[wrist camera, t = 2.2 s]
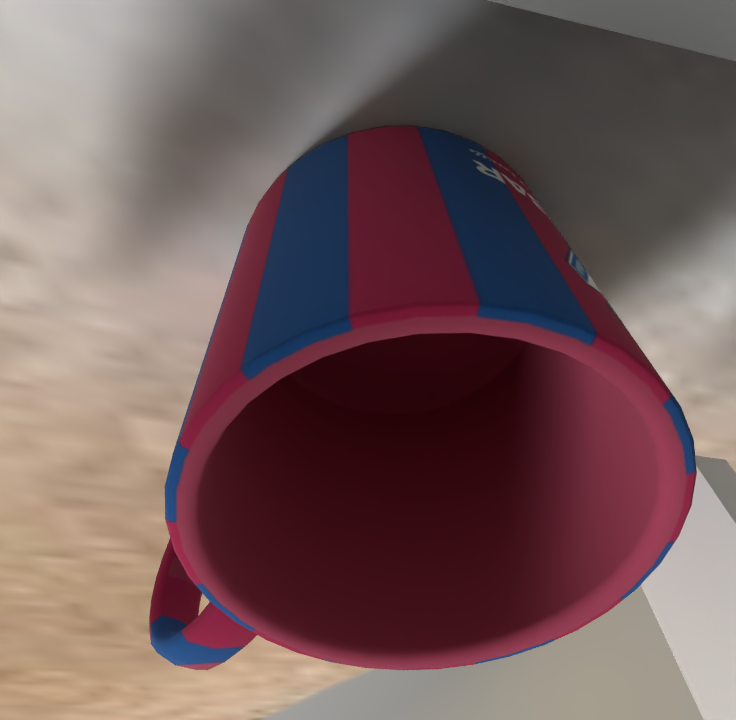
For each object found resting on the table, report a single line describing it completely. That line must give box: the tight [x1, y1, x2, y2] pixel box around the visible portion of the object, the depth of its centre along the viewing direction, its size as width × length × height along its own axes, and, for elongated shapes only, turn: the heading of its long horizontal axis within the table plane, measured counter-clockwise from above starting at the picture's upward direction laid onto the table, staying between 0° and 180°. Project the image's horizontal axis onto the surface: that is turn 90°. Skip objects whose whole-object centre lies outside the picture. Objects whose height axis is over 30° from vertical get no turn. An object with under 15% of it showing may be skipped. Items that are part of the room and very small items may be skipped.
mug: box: [149, 126, 697, 670], centre depth 11 cm, size 7×10×7 cm
